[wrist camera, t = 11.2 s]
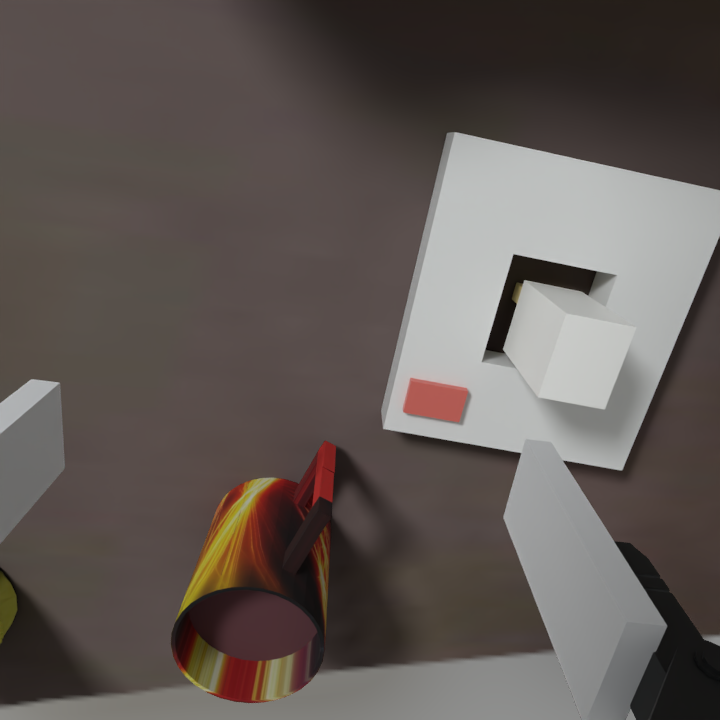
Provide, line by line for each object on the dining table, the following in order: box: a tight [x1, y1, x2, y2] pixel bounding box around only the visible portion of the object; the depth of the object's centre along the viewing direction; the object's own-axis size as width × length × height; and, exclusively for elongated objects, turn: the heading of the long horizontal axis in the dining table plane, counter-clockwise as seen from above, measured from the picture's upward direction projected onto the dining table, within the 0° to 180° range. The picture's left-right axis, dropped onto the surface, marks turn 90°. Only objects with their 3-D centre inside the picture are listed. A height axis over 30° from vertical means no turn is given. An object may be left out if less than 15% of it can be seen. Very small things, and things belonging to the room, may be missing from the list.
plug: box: [503, 280, 637, 410], centre depth 36 cm, size 5×4×10 cm
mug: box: [171, 441, 336, 703], centre depth 41 cm, size 10×14×12 cm
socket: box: [381, 132, 720, 471], centre depth 39 cm, size 20×18×4 cm
